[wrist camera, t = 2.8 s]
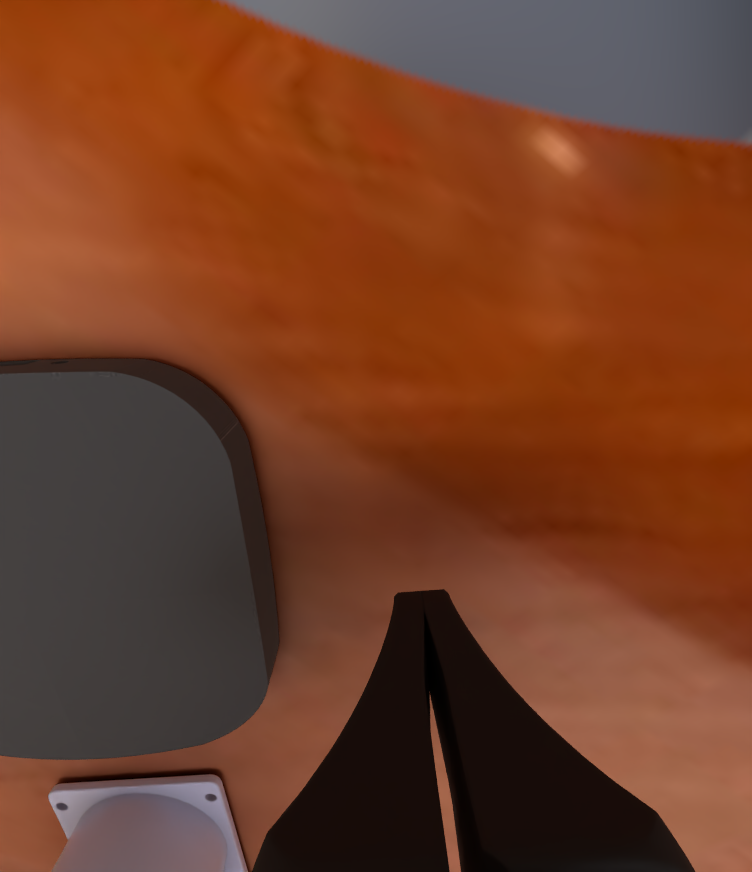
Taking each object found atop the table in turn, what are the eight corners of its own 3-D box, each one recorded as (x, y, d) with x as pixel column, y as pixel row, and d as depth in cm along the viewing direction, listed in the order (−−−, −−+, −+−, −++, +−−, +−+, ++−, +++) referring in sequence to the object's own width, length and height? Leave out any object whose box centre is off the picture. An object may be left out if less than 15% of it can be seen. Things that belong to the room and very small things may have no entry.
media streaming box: (293, 690, 20) (279, 760, 17) (-42, 703, 20) (-112, 774, 17) (242, 347, 15) (211, 364, 12) (-200, 370, 15) (-333, 392, 12)
